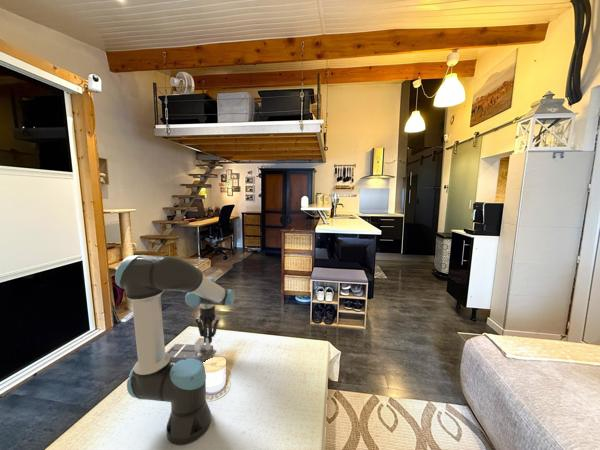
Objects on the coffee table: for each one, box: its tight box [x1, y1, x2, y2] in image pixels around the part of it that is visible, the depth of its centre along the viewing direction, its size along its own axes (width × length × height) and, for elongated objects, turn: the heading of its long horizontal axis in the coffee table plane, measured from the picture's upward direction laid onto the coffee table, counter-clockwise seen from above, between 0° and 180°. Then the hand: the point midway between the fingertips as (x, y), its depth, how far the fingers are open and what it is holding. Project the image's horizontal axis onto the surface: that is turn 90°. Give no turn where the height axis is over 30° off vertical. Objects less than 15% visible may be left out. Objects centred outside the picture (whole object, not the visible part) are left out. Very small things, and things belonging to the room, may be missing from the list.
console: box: [166, 343, 214, 364], centre depth 132 cm, size 12×22×4 cm, turn 88°
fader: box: [194, 337, 205, 354], centre depth 131 cm, size 5×3×6 cm, turn 178°
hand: (208, 348), depth 131 cm, fingers closed
